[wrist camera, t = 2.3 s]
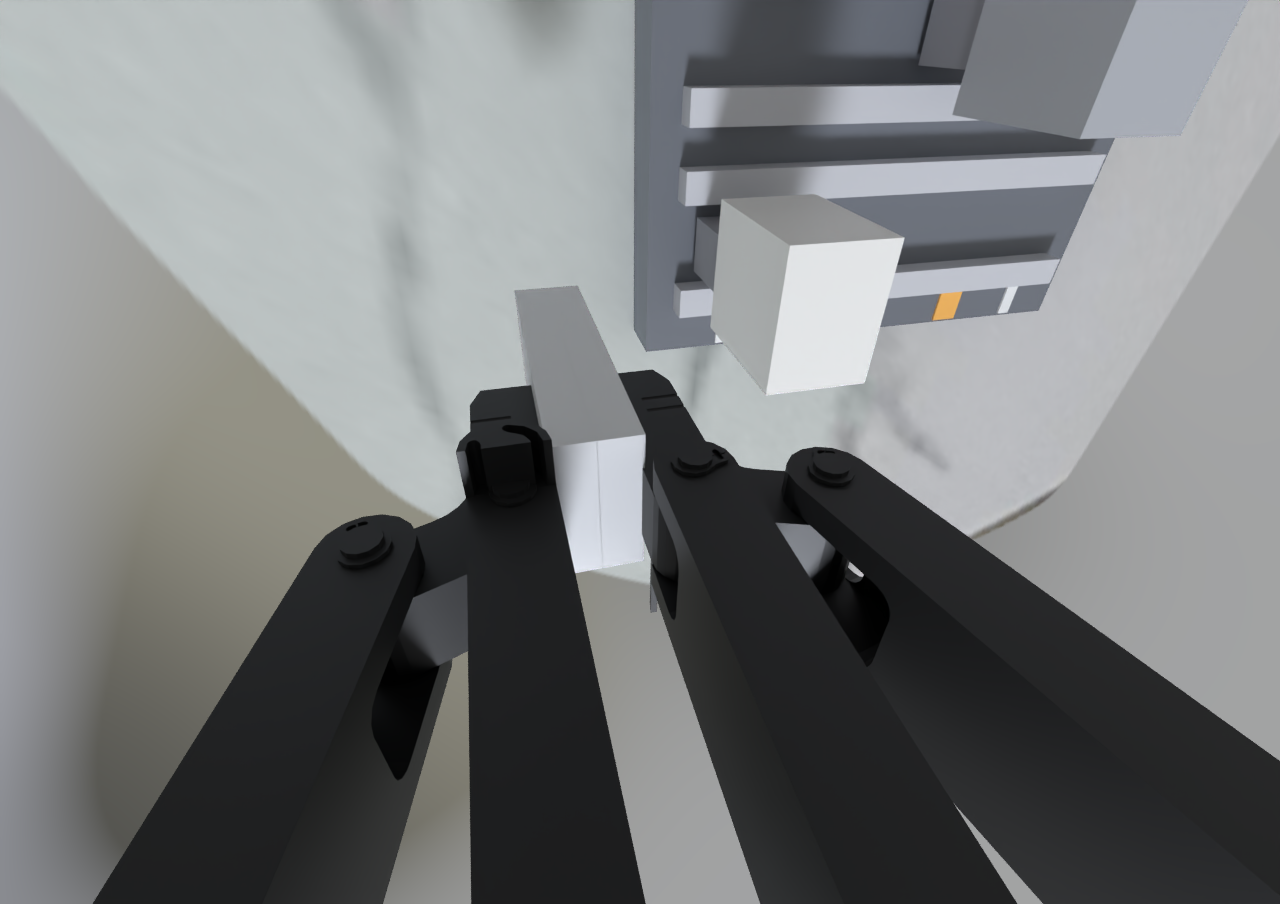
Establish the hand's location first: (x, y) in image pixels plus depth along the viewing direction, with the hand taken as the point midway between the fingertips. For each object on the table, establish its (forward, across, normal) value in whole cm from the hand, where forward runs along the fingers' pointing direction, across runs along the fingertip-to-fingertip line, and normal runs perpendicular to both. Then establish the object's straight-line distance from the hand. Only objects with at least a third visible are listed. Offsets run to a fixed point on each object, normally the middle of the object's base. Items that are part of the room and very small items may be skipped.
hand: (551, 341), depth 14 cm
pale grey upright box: (+6, +14, +6) cm, 16 cm away
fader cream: (+6, +7, 0) cm, 9 cm away
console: (+8, +13, +3) cm, 16 cm away
